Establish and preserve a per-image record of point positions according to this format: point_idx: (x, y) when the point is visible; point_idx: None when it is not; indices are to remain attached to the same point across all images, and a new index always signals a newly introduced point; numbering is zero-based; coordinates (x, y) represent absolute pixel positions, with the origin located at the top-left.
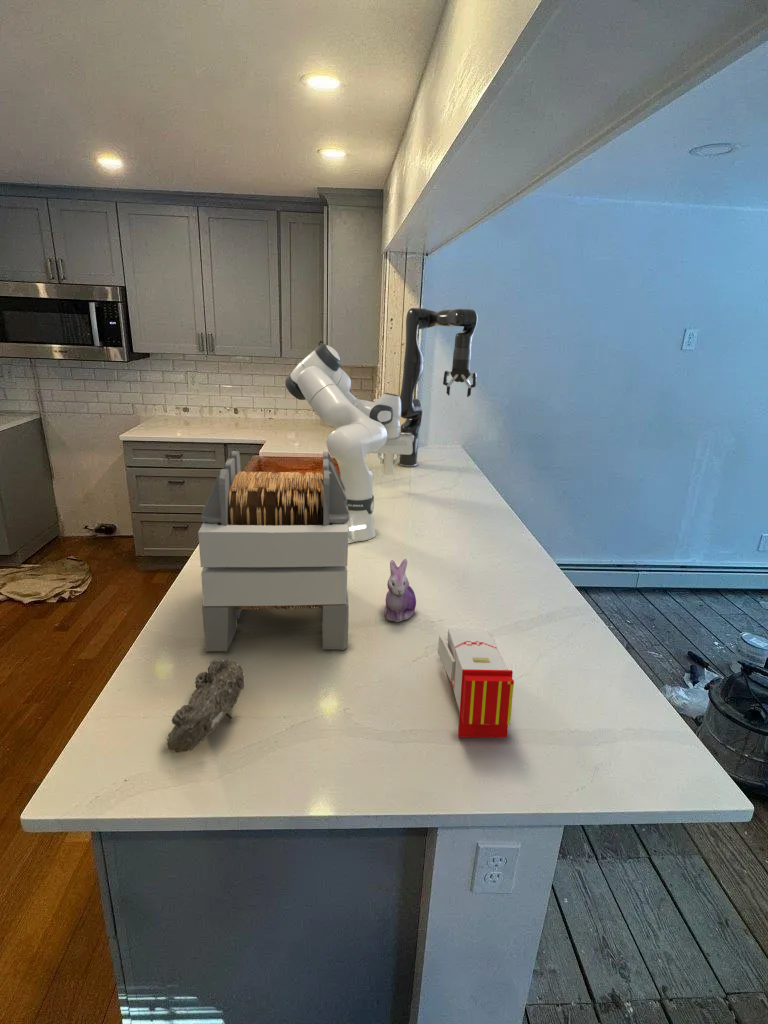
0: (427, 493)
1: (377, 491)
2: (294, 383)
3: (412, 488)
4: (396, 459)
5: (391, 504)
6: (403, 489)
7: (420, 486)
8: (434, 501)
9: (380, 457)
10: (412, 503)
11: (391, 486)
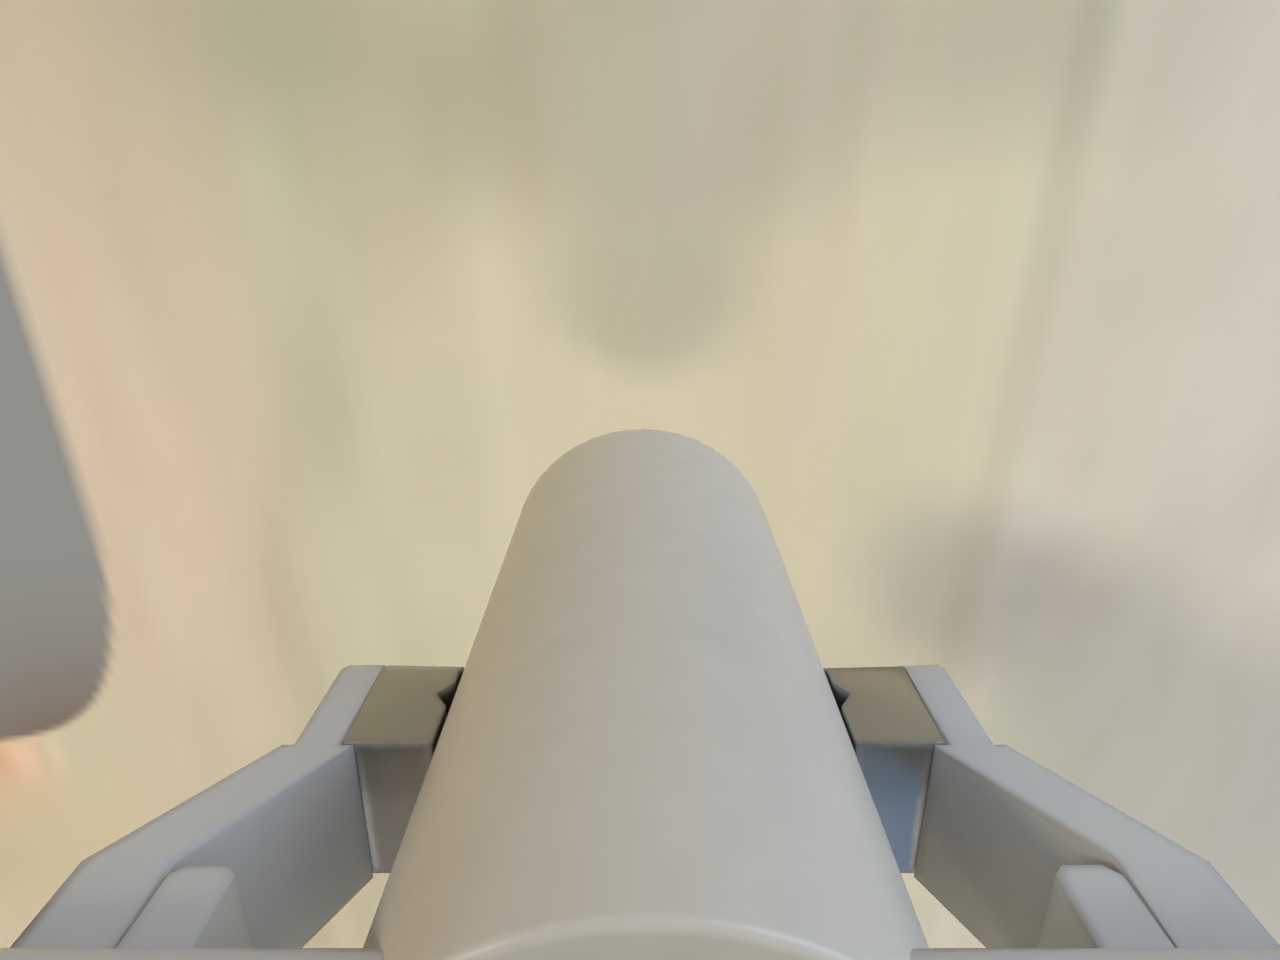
0: (1253, 533)
1: (488, 538)
2: None
3: (1079, 307)
4: (950, 905)
5: None
6: (910, 385)
7: (1265, 158)
8: (1230, 821)
9: (290, 921)
10: (934, 906)
11: (716, 237)
